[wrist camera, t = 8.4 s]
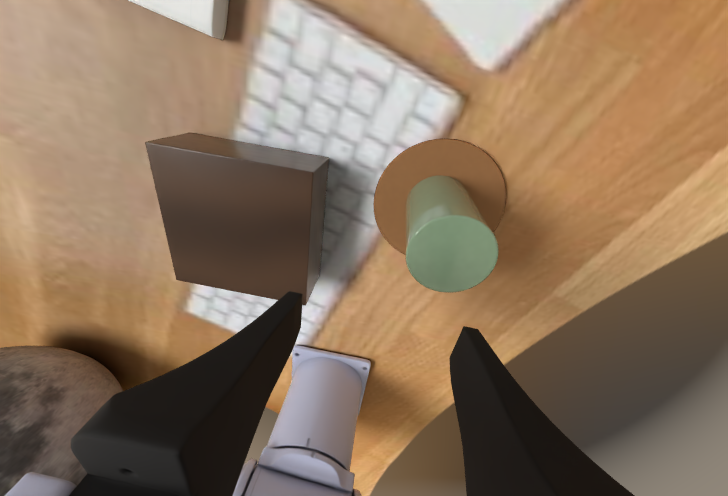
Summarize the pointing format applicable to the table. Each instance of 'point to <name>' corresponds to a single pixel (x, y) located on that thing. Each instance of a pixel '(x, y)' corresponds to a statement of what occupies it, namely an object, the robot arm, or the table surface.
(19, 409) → the moon model
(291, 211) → the stand
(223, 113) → the table surface
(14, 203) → the table surface
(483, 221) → the sage green cylinder
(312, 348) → the robot arm
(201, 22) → the hard drive
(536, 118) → the table surface
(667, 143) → the table surface
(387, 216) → the coaster
